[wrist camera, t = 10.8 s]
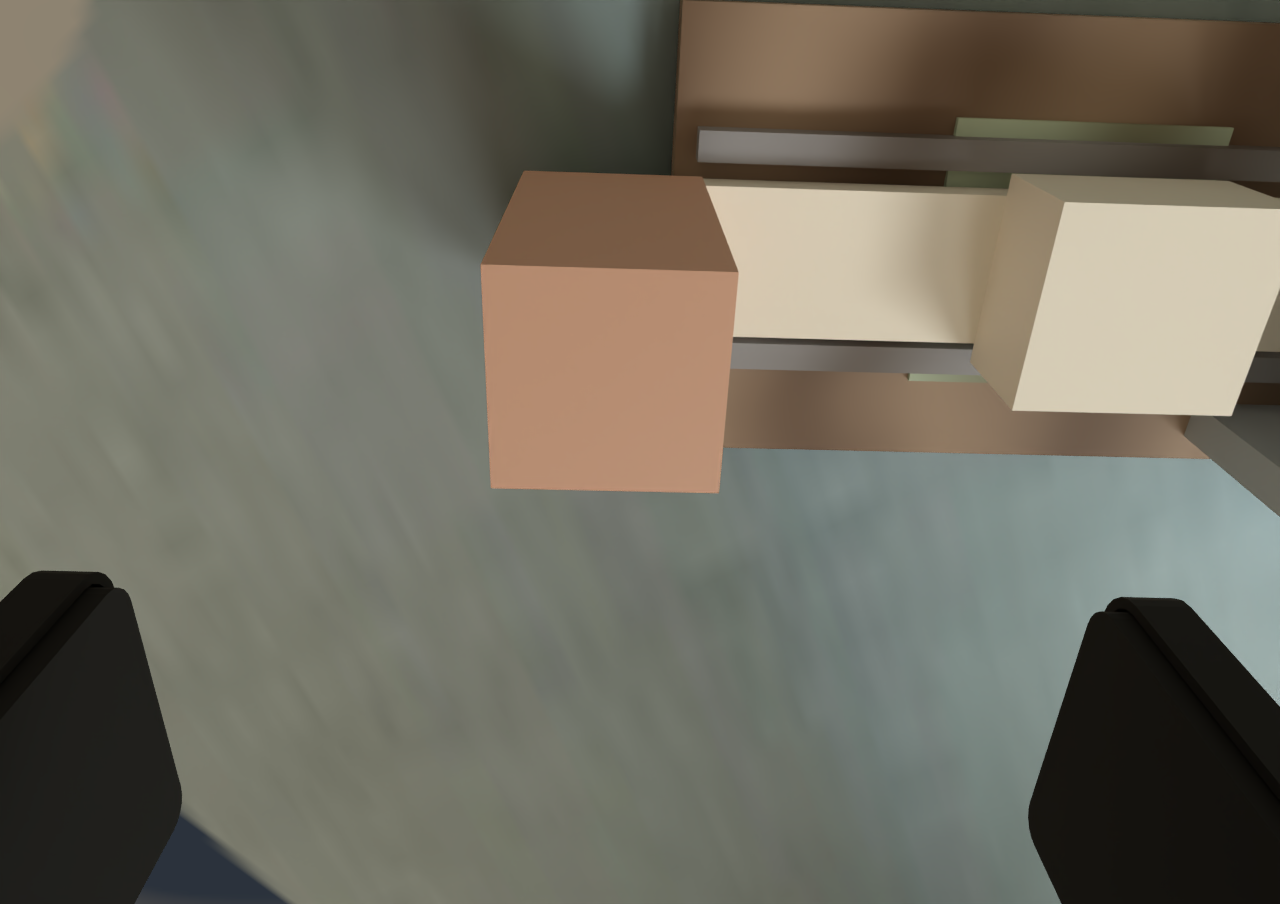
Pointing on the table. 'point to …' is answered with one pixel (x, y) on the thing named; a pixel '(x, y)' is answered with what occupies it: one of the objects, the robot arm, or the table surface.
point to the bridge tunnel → (1244, 447)
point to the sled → (853, 303)
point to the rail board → (959, 181)
